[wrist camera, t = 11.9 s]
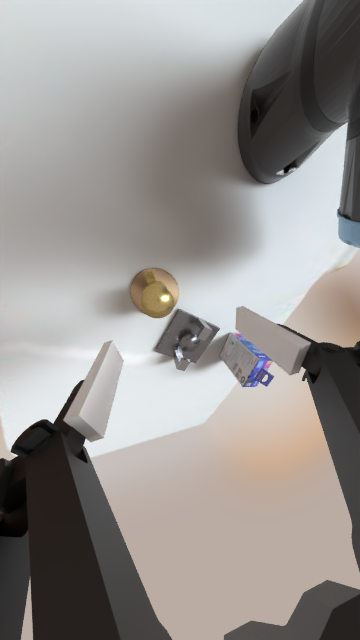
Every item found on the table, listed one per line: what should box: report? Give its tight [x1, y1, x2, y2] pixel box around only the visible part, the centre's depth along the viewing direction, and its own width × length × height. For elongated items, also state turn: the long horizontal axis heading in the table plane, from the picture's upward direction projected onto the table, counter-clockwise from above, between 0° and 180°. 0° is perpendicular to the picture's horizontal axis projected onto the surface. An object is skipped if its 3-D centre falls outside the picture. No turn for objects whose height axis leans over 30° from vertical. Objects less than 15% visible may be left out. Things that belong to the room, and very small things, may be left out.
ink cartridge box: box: [220, 333, 274, 387], centre depth 37 cm, size 10×6×14 cm, turn 167°
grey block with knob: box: [156, 309, 220, 371], centre depth 35 cm, size 14×14×6 cm
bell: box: [141, 271, 174, 318], centre depth 26 cm, size 10×6×7 cm, turn 16°
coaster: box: [131, 268, 179, 313], centre depth 30 cm, size 11×11×1 cm
